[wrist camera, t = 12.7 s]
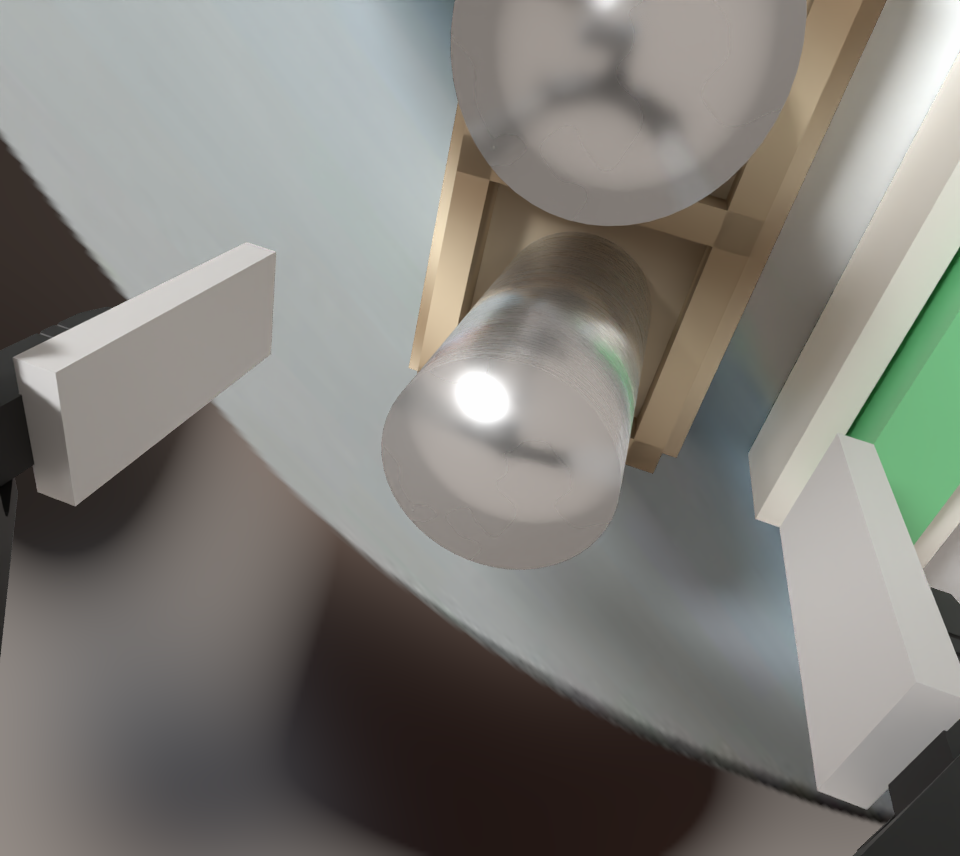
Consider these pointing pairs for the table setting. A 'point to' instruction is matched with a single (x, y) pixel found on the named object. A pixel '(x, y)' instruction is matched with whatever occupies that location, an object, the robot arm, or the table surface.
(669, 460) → the table surface
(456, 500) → the billet
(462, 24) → the cylinder
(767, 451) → the housing
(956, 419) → the green rectangular bar
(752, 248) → the wooden divided tray
